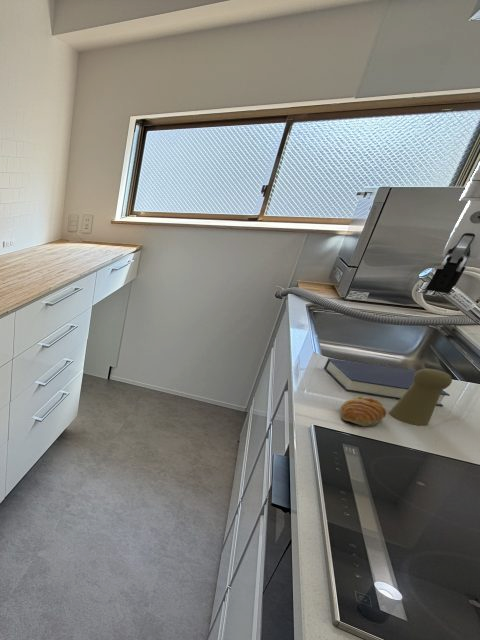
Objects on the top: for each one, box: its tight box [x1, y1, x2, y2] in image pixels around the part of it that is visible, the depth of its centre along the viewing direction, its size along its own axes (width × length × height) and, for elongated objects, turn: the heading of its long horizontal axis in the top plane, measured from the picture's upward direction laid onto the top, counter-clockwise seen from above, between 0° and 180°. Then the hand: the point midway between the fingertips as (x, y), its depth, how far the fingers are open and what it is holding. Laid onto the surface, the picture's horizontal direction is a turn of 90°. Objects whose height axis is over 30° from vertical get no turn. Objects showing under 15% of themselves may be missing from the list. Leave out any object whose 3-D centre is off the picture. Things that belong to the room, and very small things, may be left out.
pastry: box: [340, 396, 387, 427], centre depth 85 cm, size 9×7×4 cm
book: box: [323, 357, 451, 407], centre depth 101 cm, size 18×14×3 cm
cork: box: [389, 367, 453, 427], centre depth 85 cm, size 6×6×11 cm
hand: (440, 288), depth 81 cm, fingers open, 9 cm apart
